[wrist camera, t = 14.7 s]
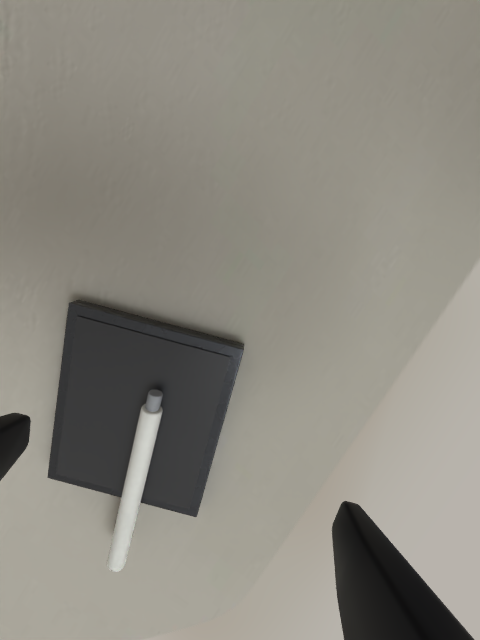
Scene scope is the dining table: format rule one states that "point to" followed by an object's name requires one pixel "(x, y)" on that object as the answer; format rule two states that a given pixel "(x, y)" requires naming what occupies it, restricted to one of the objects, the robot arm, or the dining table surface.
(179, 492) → the tablet
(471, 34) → the dining table surface
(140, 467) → the stylus
